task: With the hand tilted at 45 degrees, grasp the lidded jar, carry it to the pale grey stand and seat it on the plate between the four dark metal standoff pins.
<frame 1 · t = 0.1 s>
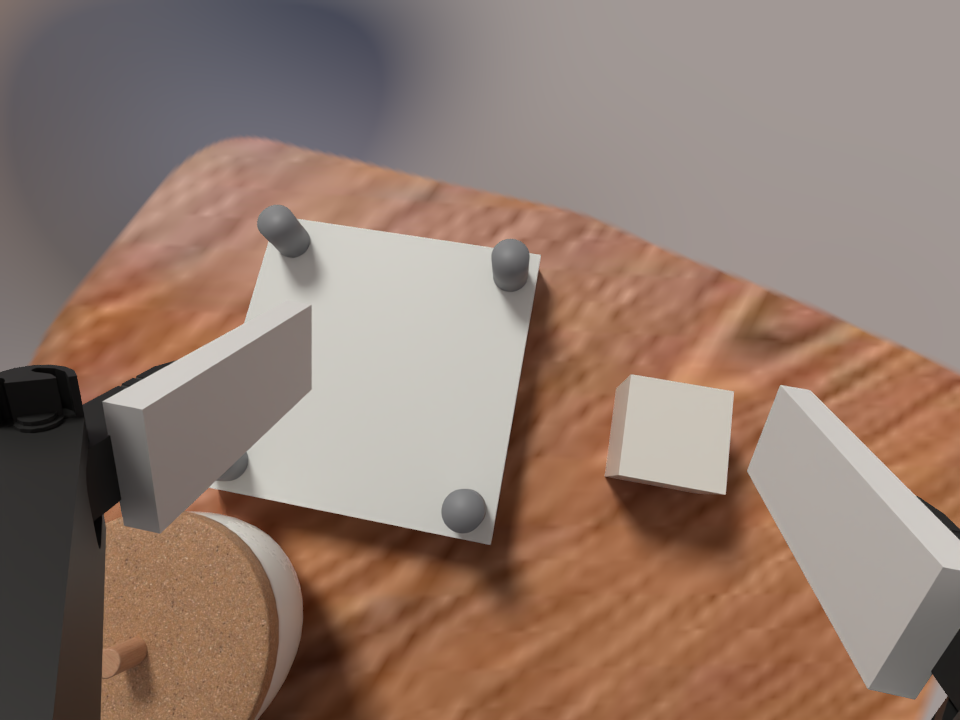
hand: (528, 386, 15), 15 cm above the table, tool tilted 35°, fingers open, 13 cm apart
grey stand: (382, 373, 31), on the table
plain off-white block: (655, 439, 29), on the table
lidded jar: (237, 606, 29), on the table
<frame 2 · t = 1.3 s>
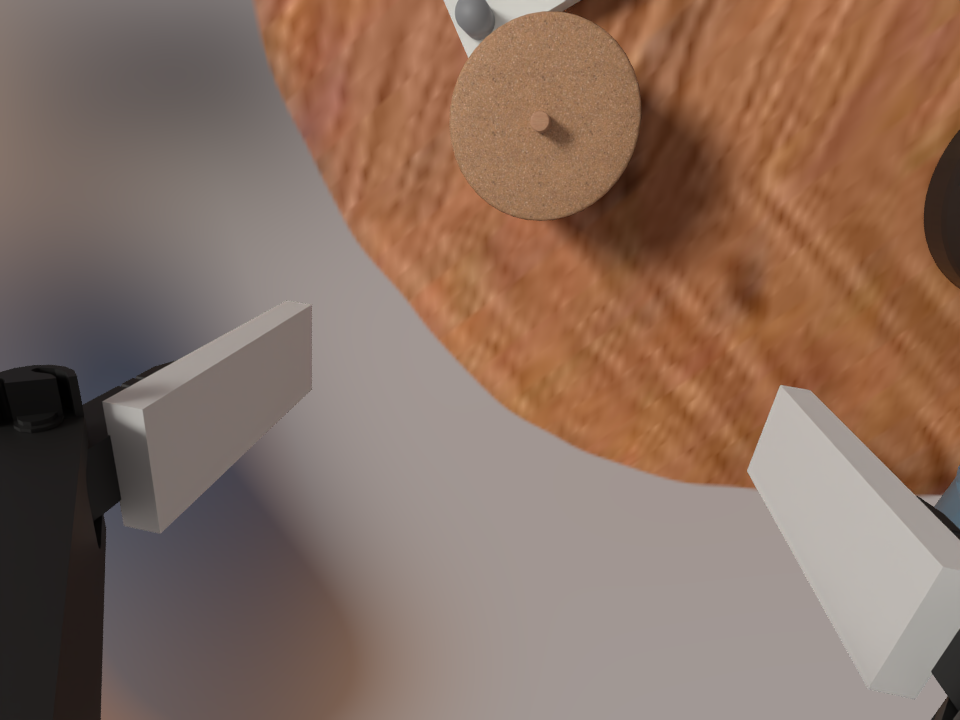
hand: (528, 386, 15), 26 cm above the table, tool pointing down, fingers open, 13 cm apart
lidded jar: (550, 128, 37), on the table
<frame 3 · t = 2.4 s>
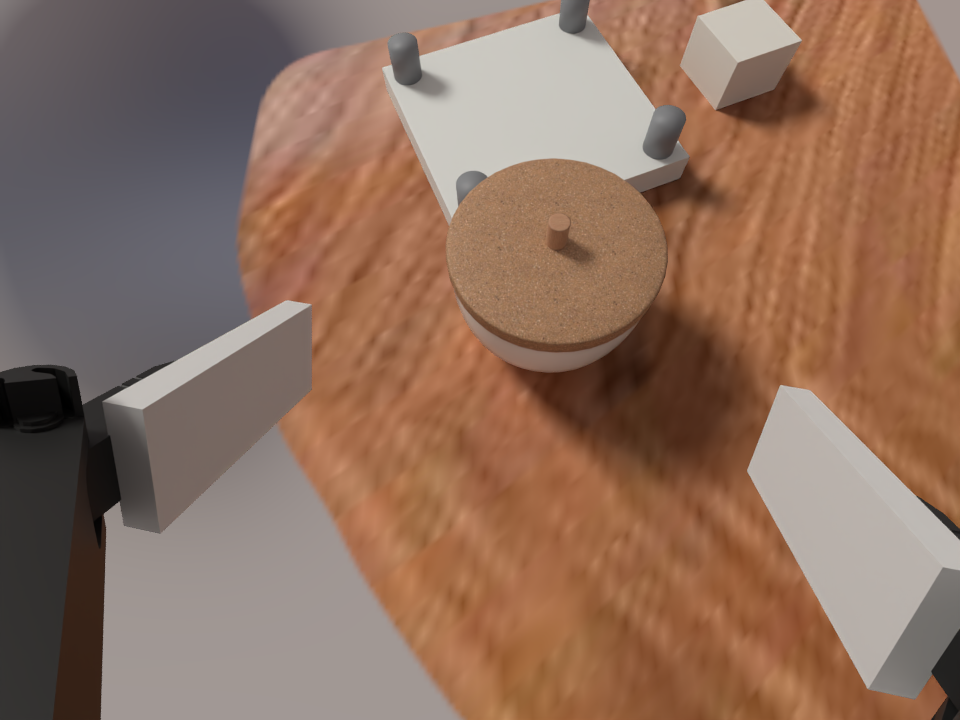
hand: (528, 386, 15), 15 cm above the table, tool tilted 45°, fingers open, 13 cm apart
grey stand: (526, 132, 38), on the table
plain off-white block: (725, 78, 40), on the table
lidded jar: (542, 317, 33), on the table
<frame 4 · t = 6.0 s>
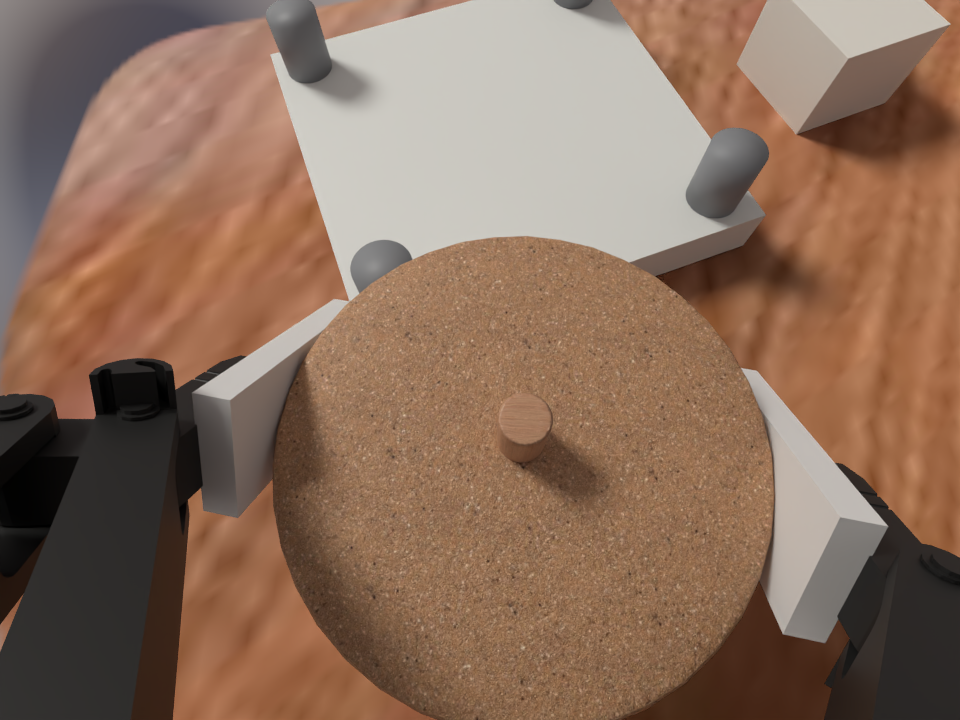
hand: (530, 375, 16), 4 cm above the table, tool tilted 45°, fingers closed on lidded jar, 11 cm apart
grey stand: (495, 162, 24), on the table
plain off-white block: (807, 85, 26), on the table
lidded jar: (508, 494, 19), on the table, touching gripper
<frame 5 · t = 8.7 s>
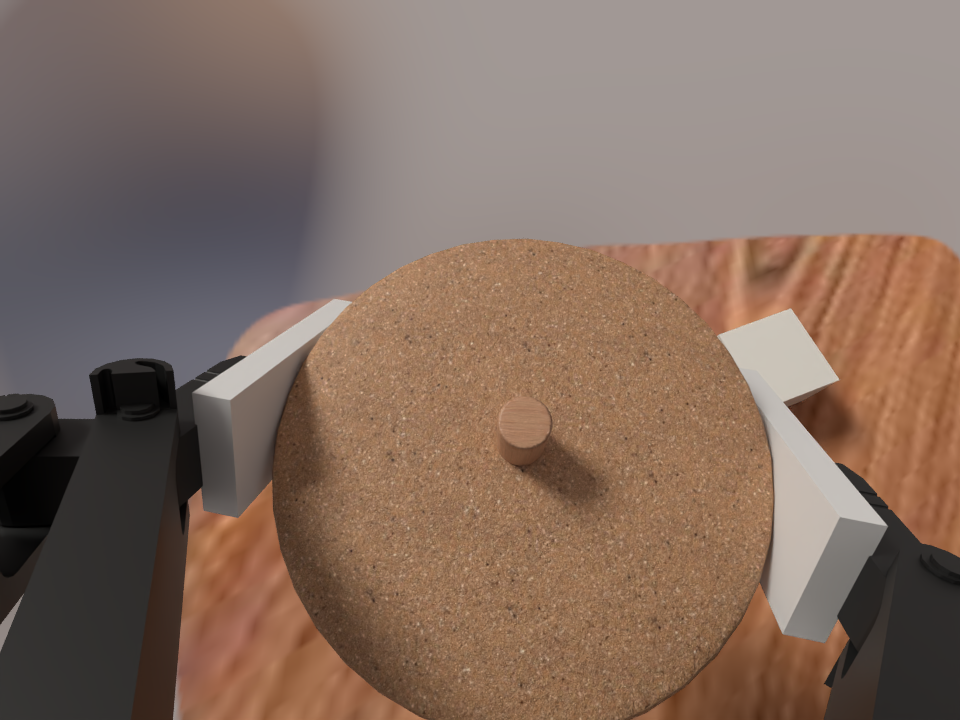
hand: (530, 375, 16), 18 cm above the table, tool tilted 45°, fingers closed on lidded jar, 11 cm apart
plain off-white block: (747, 380, 35), on the table
lidded jar: (508, 496, 19), point 14 cm above the table, touching gripper
when the fingers open (7 cm above the table, at t = 11.7 s): lidded jar stays where it is, resting on grey stand.
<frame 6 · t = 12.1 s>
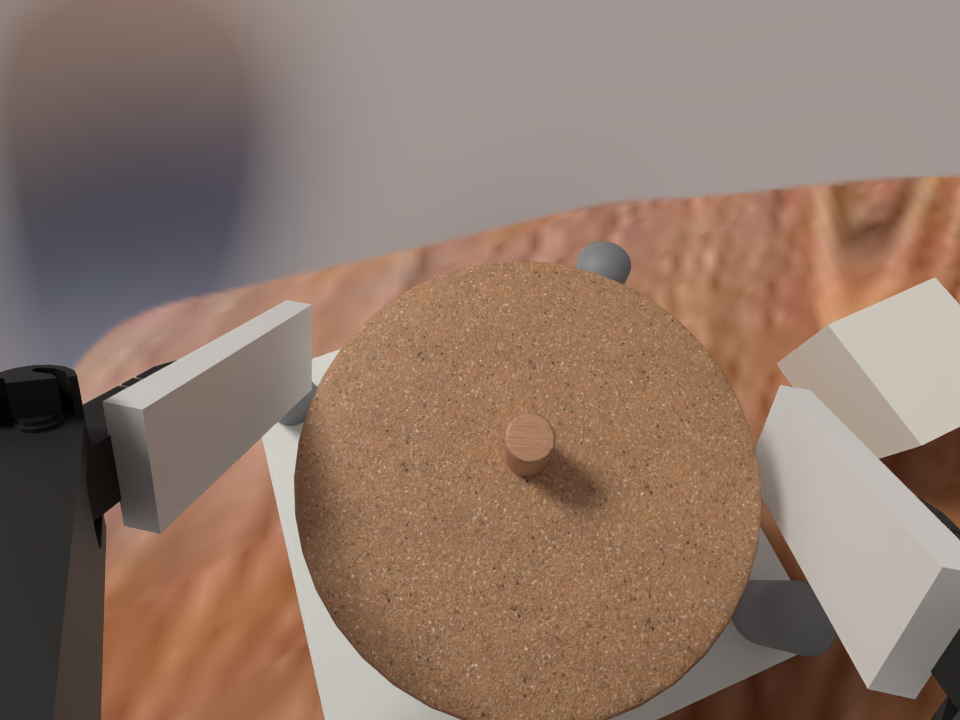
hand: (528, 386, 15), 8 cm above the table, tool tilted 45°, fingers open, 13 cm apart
grey stand: (506, 504, 21), on the table
plain off-white block: (858, 392, 23), on the table
lidded jar: (512, 502, 19), point 2 cm above the table, touching grey stand
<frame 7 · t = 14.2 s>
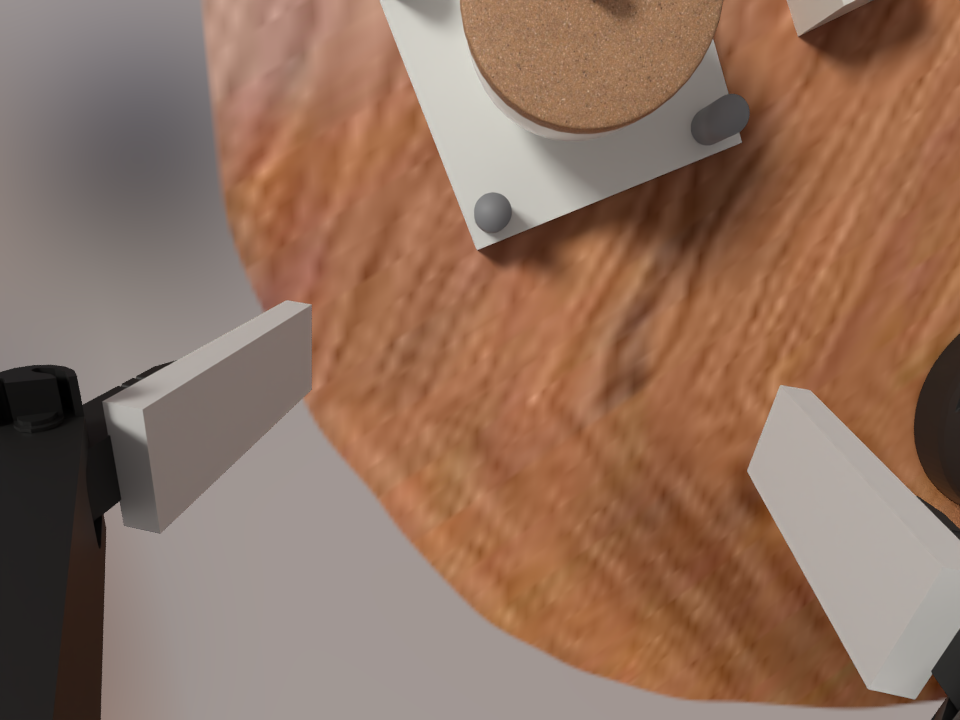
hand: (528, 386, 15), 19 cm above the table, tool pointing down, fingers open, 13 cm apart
grey stand: (554, 67, 31), on the table
lidded jar: (561, 58, 29), point 2 cm above the table, touching grey stand
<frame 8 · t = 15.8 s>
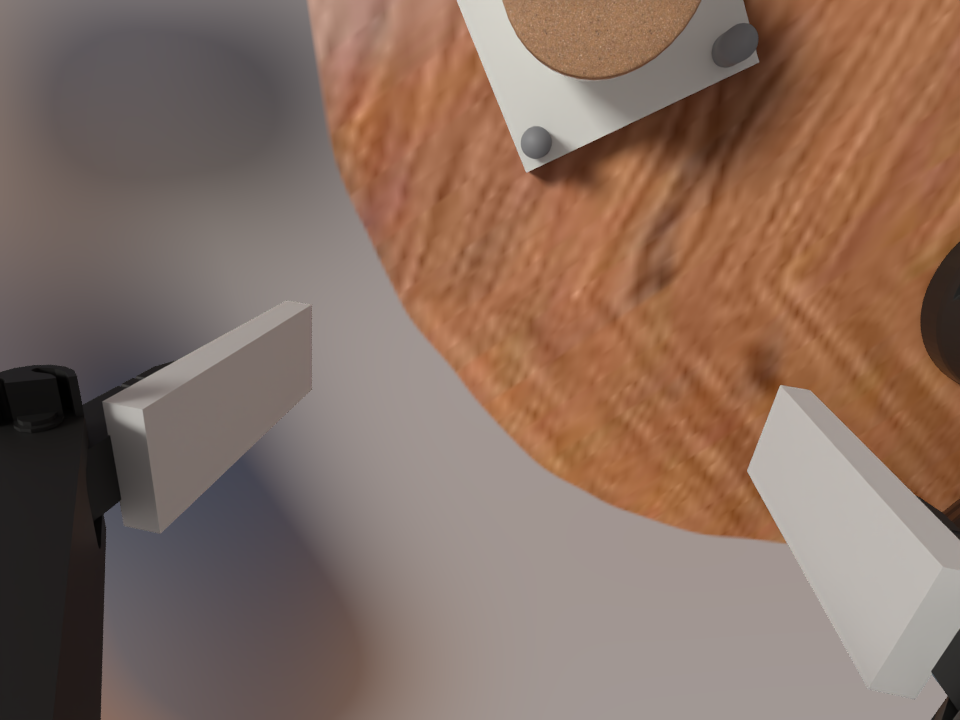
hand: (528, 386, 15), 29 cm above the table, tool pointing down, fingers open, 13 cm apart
grey stand: (592, 3, 35), on the table
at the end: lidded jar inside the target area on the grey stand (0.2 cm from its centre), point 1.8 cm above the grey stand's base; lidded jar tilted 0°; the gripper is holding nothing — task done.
